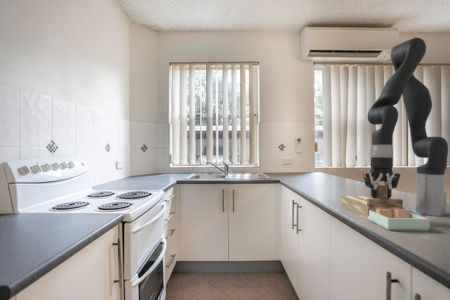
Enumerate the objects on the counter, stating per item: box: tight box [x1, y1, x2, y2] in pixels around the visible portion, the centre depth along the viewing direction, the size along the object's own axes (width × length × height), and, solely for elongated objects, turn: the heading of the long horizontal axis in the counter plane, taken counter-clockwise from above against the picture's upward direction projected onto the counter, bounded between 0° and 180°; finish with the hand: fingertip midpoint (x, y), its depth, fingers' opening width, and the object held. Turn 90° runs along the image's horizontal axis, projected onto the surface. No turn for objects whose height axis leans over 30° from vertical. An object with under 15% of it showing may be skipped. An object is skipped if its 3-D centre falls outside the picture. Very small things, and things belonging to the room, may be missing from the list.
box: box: [367, 210, 430, 232], centre depth 89 cm, size 14×12×4 cm
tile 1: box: [376, 209, 391, 218], centre depth 91 cm, size 4×4×2 cm
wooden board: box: [341, 195, 405, 221], centre depth 106 cm, size 14×22×5 cm, turn 179°
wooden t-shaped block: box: [367, 183, 404, 208], centre depth 98 cm, size 13×6×8 cm, turn 89°
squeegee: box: [403, 206, 426, 217], centre depth 116 cm, size 29×2×10 cm
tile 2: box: [394, 209, 411, 218], centre depth 91 cm, size 4×4×2 cm
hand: (380, 198), depth 98 cm, fingers open, 4 cm apart
